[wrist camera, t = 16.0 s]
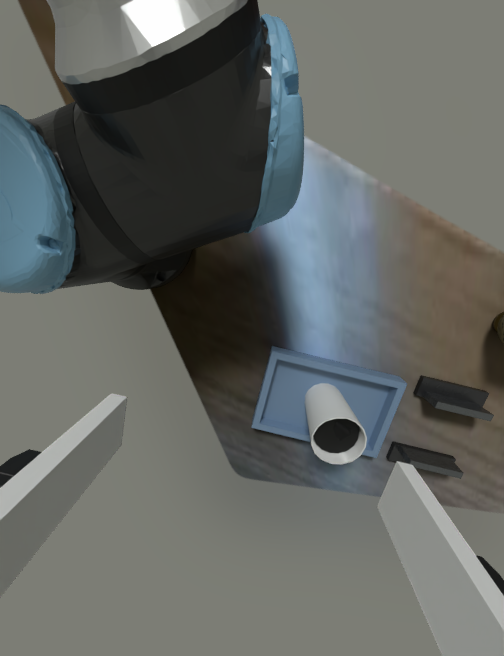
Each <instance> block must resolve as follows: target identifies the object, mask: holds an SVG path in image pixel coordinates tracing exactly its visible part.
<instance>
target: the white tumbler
mask: <svg viewBox="0 0 504 656" xmlns="http://www.w3.org/2000/svg"><path fill="white" fill-rule="evenodd" d="M305 408H306V414H307V421H308V427H309V433H310V440H311V445H312V448H313V450H314V453H315V454H316V455H317V456H318V457H319V458H320V459H321V460H323V461H325V462H328V463H330V464H345V463H349V462H352V461H354V460H355V459H356V458H358V457H359V456H361V454H362V453H363V451H364V449H365V448H366V442H367V436H366V433H365V431H364V428H363V427H362V425H361V424H360V422H359V421H358V419H357V417H356V416H355V414H354V413H353V411H352V410H351V408H350V407H349V405H348V404H347V402H346V400H345V399H344V397H343V396H342V394H341V393H340V391H339V390H338V389H337V388H336V387H335V386H333V385H331V384H328V383H320V384H317V385H314V386H313V387H311V388H310V389H309V390H308V391H307V393H306V395H305Z"/></svg>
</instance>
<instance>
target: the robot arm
mask: <svg viewBox="0 0 504 656" xmlns="http://www.w3.org/2000/svg"><path fill="white" fill-rule="evenodd" d="M47 2H48V4H49V6H50V7H51V10H52V13H53V17H54V21H55V24H56V26H55V70H56V73H57V75H58V76H59V78H60V80H61V81H62V82H63V84H64V85H65V87H66V88H67V90H68V91H69V93H70V94H71V96H72V97H73V99H74V100H75V102H73V103H71V104H68V105H66V106H64V107H61V108H59V109H56V110H54V111H52V112H49V113H47V114H44V115H42V116H40V117H37V118H35V119H24V118H23V117H22V116H20V115H19V114H18V113H17V112H16V111H14V110H12V109H11V108H9V107H7V106H5V105H0V291H2V292H8V293H26V292H31V293H34V294H38V293H40V294H44V293H49V292H52V291H53V290H55V289H60V288H67V287H74V286H81V285H88V284H95V283H103V282H113V283H115V284H117V285H119V286H122V287H125V288H130V289H138V290H144V289H151V288H155V287H159V286H162V285H165V284H167V283H169V282H170V281H172V280H173V279H175V278H176V277H177V276H178V275H179V274H180V273H181V272H182V271H183V269H184V268H185V266H186V265H187V263H188V261H189V258H190V256H191V252H192V249H194V248H197V247H200V246H203V245H206V244H209V243H212V242H215V241H218V240H221V239H224V238H228V237H231V236H234V235H237V234H240V233H243V232H244V233H250V232H252V231H253V230H255V229H256V228H257V227H259V226H261V225H264V224H266V223H269V222H272V221H274V220H277V219H279V218H282V217H283V216H285V215H286V214H287V213H288V212H289V210H290V209H291V208H292V207H293V206H294V205H295V203H296V200H297V198H298V195H299V192H300V187H301V182H302V175H303V162H304V121H303V106H302V99H301V97H300V96H299V93H298V66H297V59H296V54H295V50H294V46H293V42H292V38H291V36H290V33H289V30H288V28H287V26H286V25H285V23H284V22H283V21H282V20H281V19H280V18H279V17H272V16H270V15H269V14H264V15H262V16H261V18H260V14H259V8H258V2H257V0H47ZM126 402H127V397H126V396H122V395H118V394H113V393H111V394H110V395H109V396H107V397H106V398H105V399H104V400H103V401H102V402H101V403H99V404H98V405H97V406H96V407H95V408H93V409H92V410H91V411H90V412H89V413H87V414H86V415H85V416H84V417H83V418H82V419H81V420H79V421H78V422H77V423H76V424H75V425H73V426H72V427H71V428H70V429H69V430H68V431H66V432H65V433H64V434H63V435H62V436H60V437H59V438H58V439H57V440H56V441H55V442H53V443H52V444H51V445H50V446H49V447H48V448H46V449H45V450H44V451H43V452H38V451H34V450H30V449H29V450H27V451H25V452H23V453H21V454H19V455H17V456H14V457H12V458H10V459H9V460H8V461H6V462H5V463H4V464H3V465H1V466H0V598H1V596H2V595H3V594H4V593H5V591H6V590H7V589H8V587H9V586H10V585H11V584H12V582H13V581H14V580H15V579H16V577H17V576H18V575H19V574H20V572H21V571H22V570H23V568H24V567H25V566H26V565H27V563H28V562H29V561H30V560H31V558H32V557H33V556H34V555H35V553H36V552H37V551H38V550H39V548H40V547H41V546H42V545H43V543H44V542H45V541H46V540H47V538H48V537H49V536H50V534H51V533H52V532H53V531H54V529H55V528H56V527H57V525H58V524H59V523H60V522H61V521H62V519H63V518H64V517H65V516H66V514H67V513H68V512H69V510H70V509H71V508H72V507H73V505H74V504H75V503H76V502H77V500H78V499H79V498H80V497H81V495H82V494H83V493H84V491H85V490H86V489H87V488H88V487H89V485H90V484H91V483H92V481H93V480H94V479H95V478H96V476H97V475H98V474H99V473H100V471H101V470H102V469H103V468H104V466H105V465H106V464H107V462H108V461H109V460H110V459H111V457H112V456H113V455H114V454H115V452H116V451H117V450H118V449H119V447H120V446H121V444H122V435H123V427H124V419H125V411H126ZM377 507H378V510H379V512H380V514H381V517H382V519H383V521H384V523H385V525H386V528H387V530H388V532H389V535H390V537H391V539H392V542H393V544H394V546H395V549H396V551H397V553H398V555H399V558H400V560H401V562H402V565H403V567H404V569H405V572H406V574H407V576H408V578H409V581H410V583H411V585H412V587H413V590H414V592H415V595H416V597H417V599H418V601H419V604H420V606H421V608H422V611H423V613H424V615H425V618H426V620H427V622H428V624H429V627H430V629H431V631H432V634H433V636H434V638H435V640H436V642H437V645H438V647H439V650H440V652H441V654H442V656H504V580H503V579H502V578H501V576H500V575H499V574H498V573H497V572H496V571H495V570H494V569H493V568H492V567H491V566H490V565H489V564H488V562H487V561H485V560H484V558H482V557H480V556H476V555H475V554H474V552H473V551H472V550H471V548H470V547H469V545H468V544H467V543H466V541H465V539H464V538H463V537H462V535H461V534H460V532H459V531H458V529H457V528H456V527H455V525H454V524H453V522H452V521H451V519H450V518H449V517H448V515H447V514H446V512H445V511H444V509H443V508H442V506H441V505H440V504H439V502H438V501H437V499H436V498H435V496H434V495H433V493H432V492H431V491H430V489H429V488H428V486H427V485H426V483H425V482H424V481H423V479H422V478H421V476H420V475H419V473H418V472H417V470H416V469H415V468H414V466H413V465H411V464H407V463H403V462H398V461H397V462H396V464H395V467H394V469H393V471H392V473H391V476H390V478H389V480H388V482H387V485H386V487H385V489H384V492H383V494H382V496H381V498H380V501H379V503H378V506H377Z"/></svg>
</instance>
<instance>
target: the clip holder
mask: <svg viewBox="0 0 504 656" xmlns="http://www.w3.org/2000/svg"><path fill="white" fill-rule="evenodd" d="M414 394H415V395H417V396H421V397H423V398H425V399H426V400H427V401H428V402H429V403H430V404H431V405H432V406H433V407H435V408H437V409H442V410H446V411H450V412H454V413H458V414H462V415H466V416H471V417H475V418H479V419H483V420H487V421H491V420H492V418H493V416H494V415H493V414H491V413H490V412H489V411H487V410H486V409H484V408H483V405H484V403H485V401H486V399H487V397H488V395H489V393H488V392H486V391H484V390H480V389H476V388H472V387H467V386H463V385H459V384H455V383H451V382H447V381H443V380H438V379H434V378H430V377H426V376H422V375H421V376H420V379H419V381H418V383H417V386H416V388H415V390H414ZM386 457H387V459H388V460H390V461H394V462H397V461H398V462H403V463H407V464H411V465H413V466H414V467H415V468H419V469H423V470H427V471H432V472H436V473H440V474H444V475H448V476H452V477H456V478H460V479H461V477H462V475H463V472H462V471H461V470H460V469H459V468H458V466H457V465H456V464H455V463H454V462H455V460H456V459H455V458H454V457H453V456H451V455H447V454H443V453H438V452H434V451H430V450H426V449H422V448H418V447H414V446H409V445H405V444H401V443H397V442H392V444H391V447H390V449H389V451H388V454H387V456H386Z"/></svg>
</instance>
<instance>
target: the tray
mask: <svg viewBox="0 0 504 656" xmlns="http://www.w3.org/2000/svg"><path fill="white" fill-rule="evenodd" d="M320 383H328V384H331V385H333V386H335V387H336V388H337V389H338V390H339V391H340V393H341V394H342V396H343V397H344V399H345V400H346V402H347V404H348V405H349V407H350V408H351V410H352V411H353V413H354V414H355V416H356V417H357V419H358V421H359V422H360V424H361V425H362V427H363V428H364V431H365V433H366V436H367V442H366V448H365V449H364V451H363V453H362V455H366V456H370V457H374V458H377V455H378V453H379V451H380V448H381V446H382V443H383V441H384V439H385V436H386V434H387V431H388V429H389V427H390V424H391V422H392V419H393V417H394V415H395V412H396V410H397V407H398V405H399V403H400V400H401V398H402V395H403V393H404V391H405V388H406V386H407V383H406V382H405V381H404V380H403V379H401V378H400V377H399V376H395V375H391V374H387V373H382V372H378V371H374V370H370V369H366V368H362V367H358V366H353V365H349V364H345V363H341V362H337V361H333V360H329V359H324V358H320V357H316V356H312V355H308V354H304V353H300V352H295V351H291V350H287V349H283V348H279V347H275V346H272V347H271V351H270V355H269V359H268V362H267V366H266V370H265V374H264V377H263V381H262V385H261V389H260V393H259V396H258V400H257V404H256V408H255V411H254V415H253V420H252V428H255V429H259V430H263V431H267V432H271V433H275V434H279V435H284V436H288V437H292V438H296V439H300V440H304V441H308V442H311V440H310V433H309V427H308V421H307V414H306V408H305V395H306V393H307V391H308V390H309V389H310V388H311V387H313V386H314V385H317V384H320Z"/></svg>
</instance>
